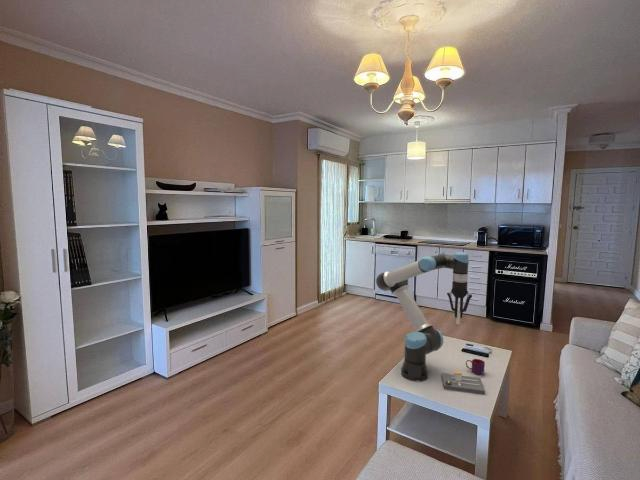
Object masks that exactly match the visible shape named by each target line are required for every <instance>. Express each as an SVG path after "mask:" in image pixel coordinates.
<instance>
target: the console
mask: <svg viewBox="0 0 640 480" xmlns="http://www.w3.org/2000/svg"><path fill="white" fill-rule="evenodd" d="M441 380H442V387H443V389H444V390H448V391H456V392H464V393H471V394H478V395H486V389H485V387H484V384H483V381H482V378H481V377H476V376H470V375H469V376H468V375H463V374H462V375H461V382H458V381H455V373H454V374H452V373H444V372H442V373H441Z"/></svg>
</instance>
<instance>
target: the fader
mask: <svg viewBox="0 0 640 480" xmlns="http://www.w3.org/2000/svg"><path fill="white" fill-rule="evenodd" d="M462 373H463V372H462V371H460V370H454V375H455V381H458V382H461V375H462V376H463V374H462Z"/></svg>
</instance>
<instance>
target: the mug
mask: <svg viewBox="0 0 640 480" xmlns="http://www.w3.org/2000/svg"><path fill="white" fill-rule="evenodd" d="M468 362H470V363H471V367H469V365H468ZM485 363H486V362H485V361H484V360H482V359H479V358H472V360H470V359H467V360H465V366H466V368H467V369H469V370H470V371H471V373H472V374H473V375H476V376H483V375H485V367H486V366H485V365H486V364H485Z"/></svg>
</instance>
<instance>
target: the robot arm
mask: <svg viewBox="0 0 640 480" xmlns="http://www.w3.org/2000/svg"><path fill="white" fill-rule="evenodd" d="M469 262H470V259H469V254H468V253H467V252H461V251H460V252H459V251H456V252H454V253H453V254H452V255H451V254H446V253H435V254H434V255H427V256H423V257H422V258H420V259H419V260H417V261H414V262H412V263H409V264H407V265H404V266H402V267H399V268H397V269H394V270H391V271H389V270H388V271H385V272H381V273H379V274H378V276H376V279H375V283H376V286H377V288H378V289H379V290H381V291H384V292H388V291H390V292H391V294H392V295H393V296H396V298H397V300H398V302H399V303H400V305H401V307H402V309H403V311H404V312H405V314H406V316H407V318H408V319H409V321H410V323H411V325H412V327H413V328H414V331H412V332H409V333H407V334H406V335H405V338H404V361H403V363H402V366H401V368H400V375H402V377H403V378H405V379H406V380H409V381H414V382H422V381H426V380H427V379H429V369H428V367H427V363H426V362H427V360H426V359H427V355H428V354H431V353H433V352H436V351H438V350H439V349H441V348H442V347H443V345H444V337H443V334H442V333H441V331H440V330H439V329H436V328H434V326H433V325H432V324H430V323H428V321H427V319H426V317H425V316H424V313H423V311H422V310H421V309H420V307H419V305H418V303H417V301H416V300H415V298H414V297H413V295H412V293H411V291H410V290H409V287H410V285H409V279H412V278H414V277H417V276H420V275H423V274H425V273H428V272H431V271H435V270H441V269H448V270H449V269H450V270H452V286H451V290H450V291H449V292H446V295H447V297H448V300H449V304H450V308H451V311H453V312H454V318H456V321H455V323H456V325H461V319H463V313H464V312H465V313H466V312H467V309H468V306H469V303H470V301H471V299H472V297H473V295H472V293H469V291H468V279H469V277H468V276H469ZM452 295H453V297H454V302H453V299H452ZM465 297H466V299H465V303H464V298H465ZM458 307H459V309H458Z"/></svg>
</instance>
